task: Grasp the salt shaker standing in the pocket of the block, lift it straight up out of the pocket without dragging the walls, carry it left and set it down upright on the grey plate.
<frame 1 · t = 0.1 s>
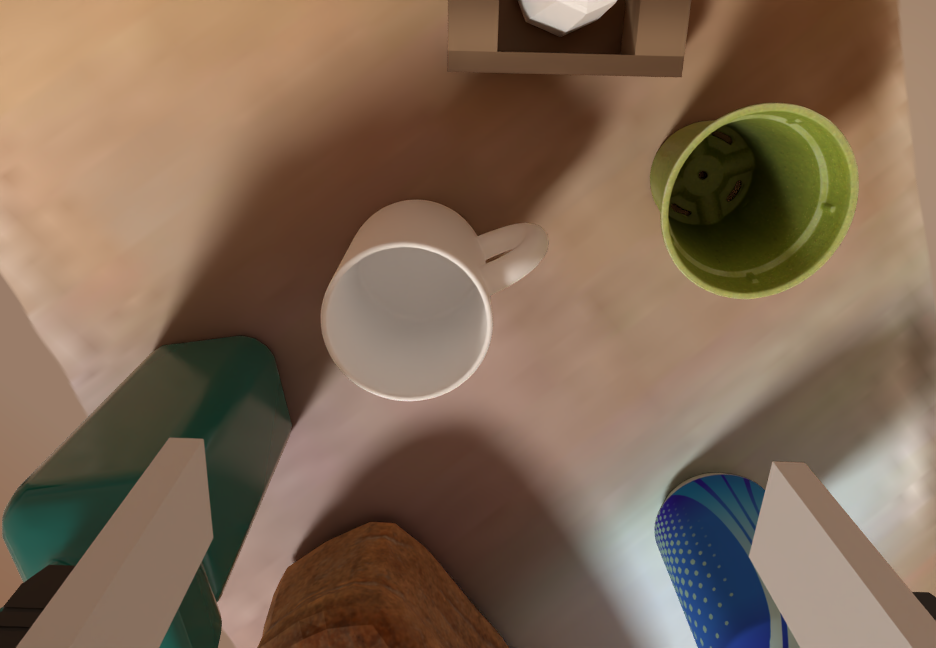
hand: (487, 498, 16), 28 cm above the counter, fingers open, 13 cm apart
beer can: (707, 511, 51), on the counter
mug: (446, 250, 43), on the counter
teal bottle: (232, 393, 47), on the counter
plant pot: (700, 173, 42), on the counter
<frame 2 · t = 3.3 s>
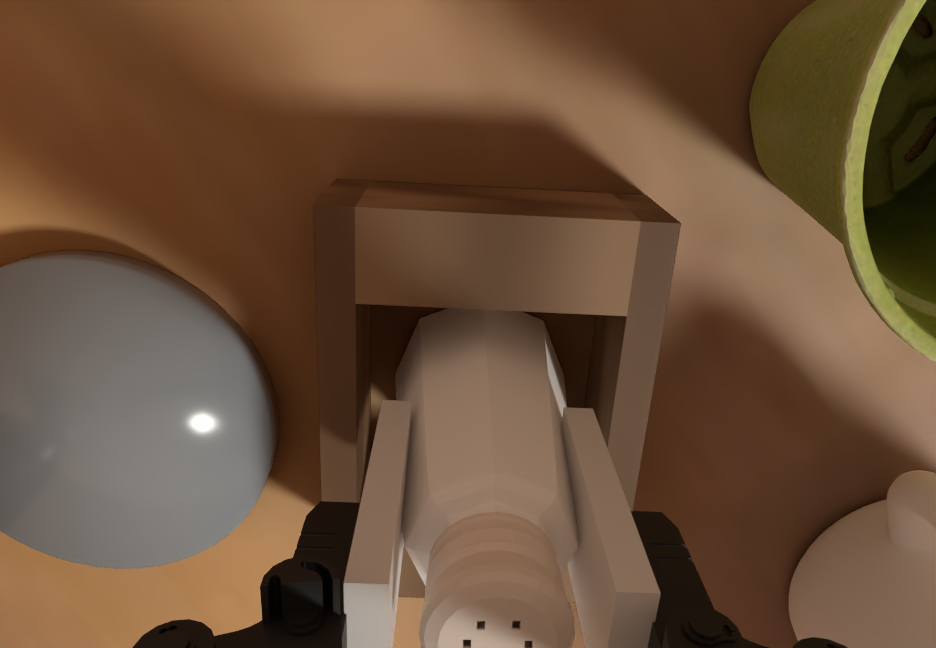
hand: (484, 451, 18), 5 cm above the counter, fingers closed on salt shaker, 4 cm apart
grey plate: (109, 412, 23), on the counter
mug: (882, 537, 26), on the counter
salt shaker: (479, 370, 23), resting in pocket block, touching gripper
pocket block: (479, 373, 23), on the counter
plant pot: (852, 97, 20), on the counter
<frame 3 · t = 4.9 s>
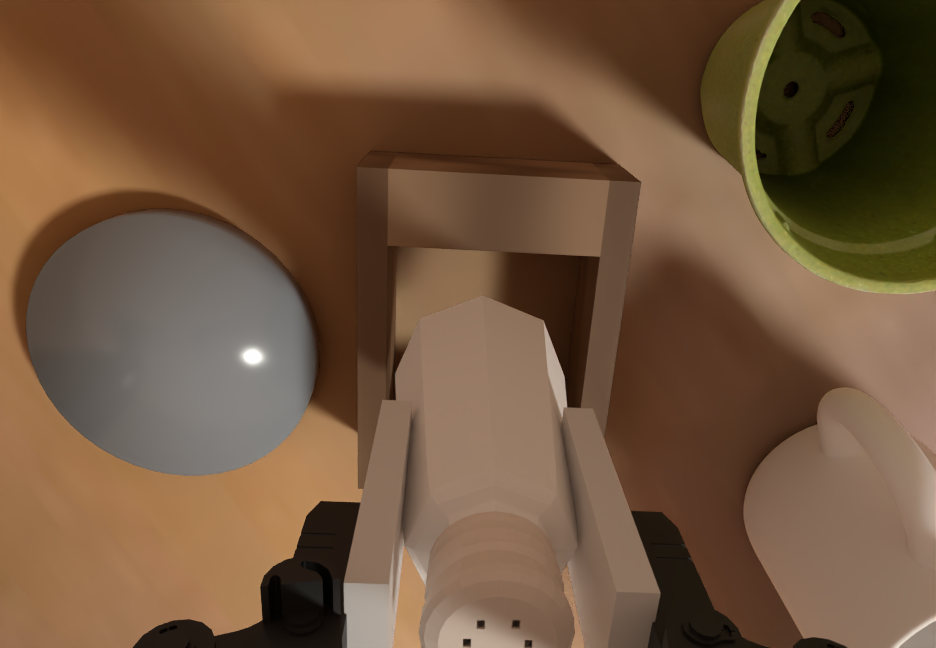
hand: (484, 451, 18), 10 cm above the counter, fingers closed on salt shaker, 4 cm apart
grey plate: (181, 344, 28), on the counter
mug: (822, 457, 30), on the counter
salt shaker: (479, 370, 23), point 5 cm above the counter, touching gripper
pocket block: (484, 312, 28), on the counter
plant pot: (784, 85, 25), on the counter
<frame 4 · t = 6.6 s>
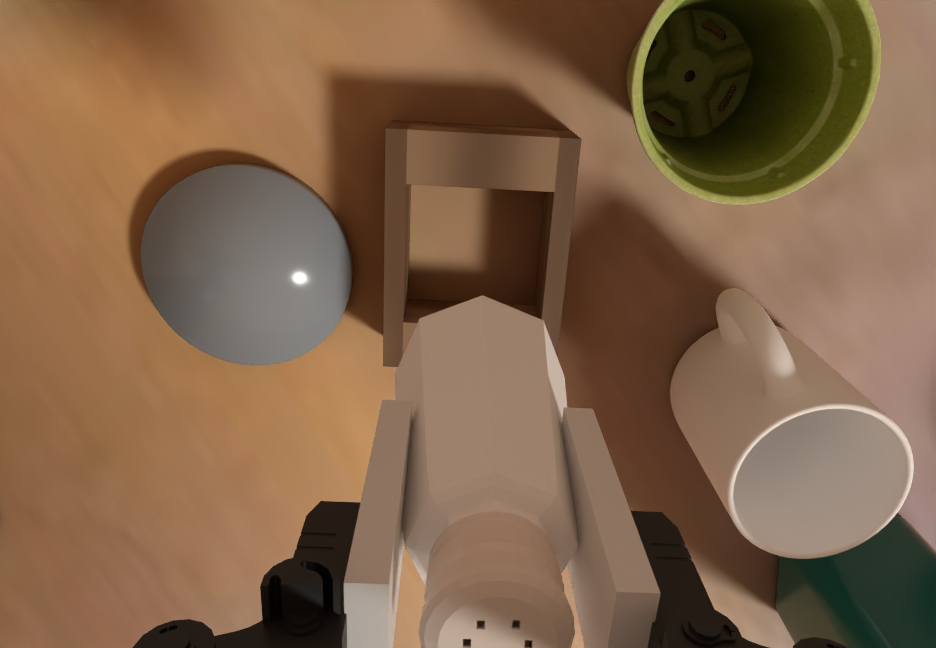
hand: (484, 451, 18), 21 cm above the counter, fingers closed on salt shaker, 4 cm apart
grey plate: (251, 265, 38), on the counter
mug: (728, 353, 41), on the counter
salt shaker: (479, 370, 23), point 16 cm above the counter, touching gripper
teal bottle: (839, 556, 46), on the counter
pocket block: (474, 240, 38), on the counter
plant pot: (686, 73, 35), on the counter
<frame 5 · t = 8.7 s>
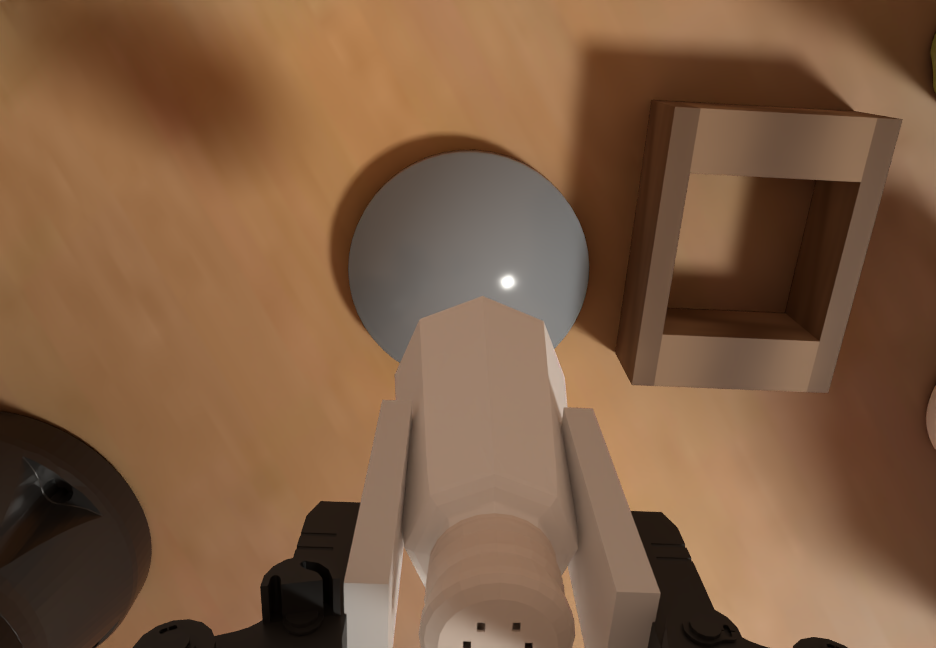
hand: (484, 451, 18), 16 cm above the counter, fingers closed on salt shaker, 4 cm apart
grey plate: (468, 268, 33), on the counter
salt shaker: (479, 371, 23), point 11 cm above the counter, touching gripper
pocket block: (727, 239, 33), on the counter
when the fingers open (7 cm above the counter, at t = 10.2 s): salt shaker drops 1 cm, resting on grey plate.
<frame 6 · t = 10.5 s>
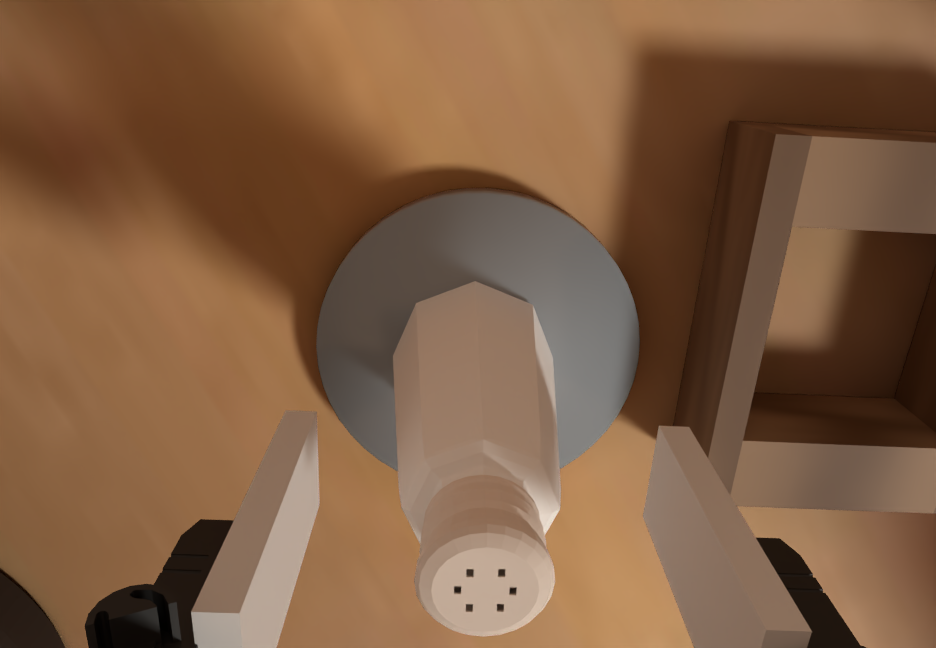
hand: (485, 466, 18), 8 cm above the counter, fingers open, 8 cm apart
grey plate: (477, 342, 25), on the counter
salt shaker: (472, 352, 24), point 1 cm above the counter, touching grey plate
pocket block: (823, 305, 25), on the counter
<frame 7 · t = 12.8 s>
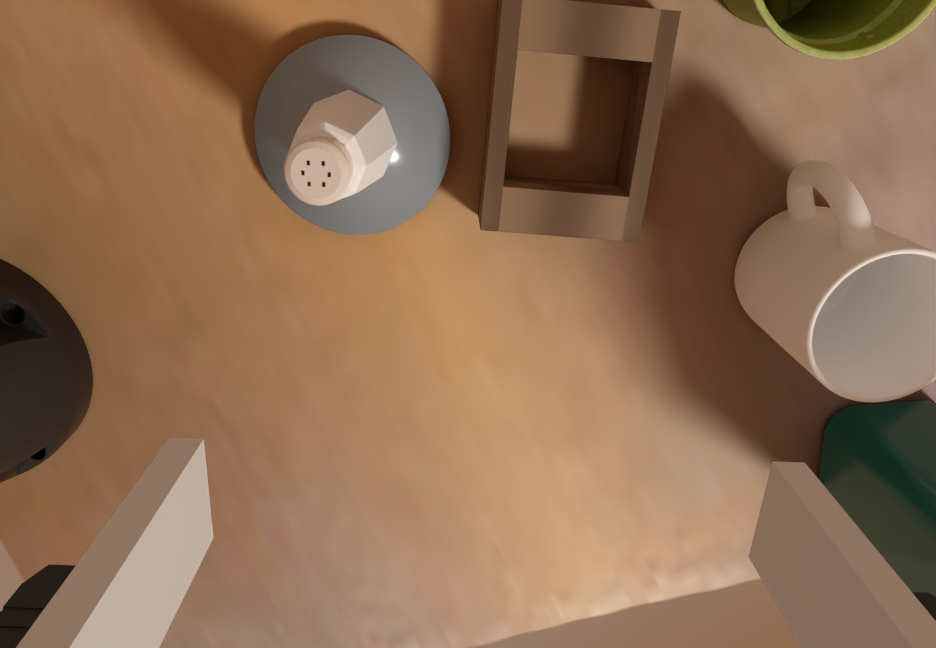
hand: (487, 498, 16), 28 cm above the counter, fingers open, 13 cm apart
grey plate: (355, 137, 41), on the counter
mug: (789, 239, 44), on the counter
salt shaker: (350, 139, 40), point 1 cm above the counter, touching grey plate
teal bottle: (876, 442, 50), on the counter
pocket block: (565, 119, 41), on the counter
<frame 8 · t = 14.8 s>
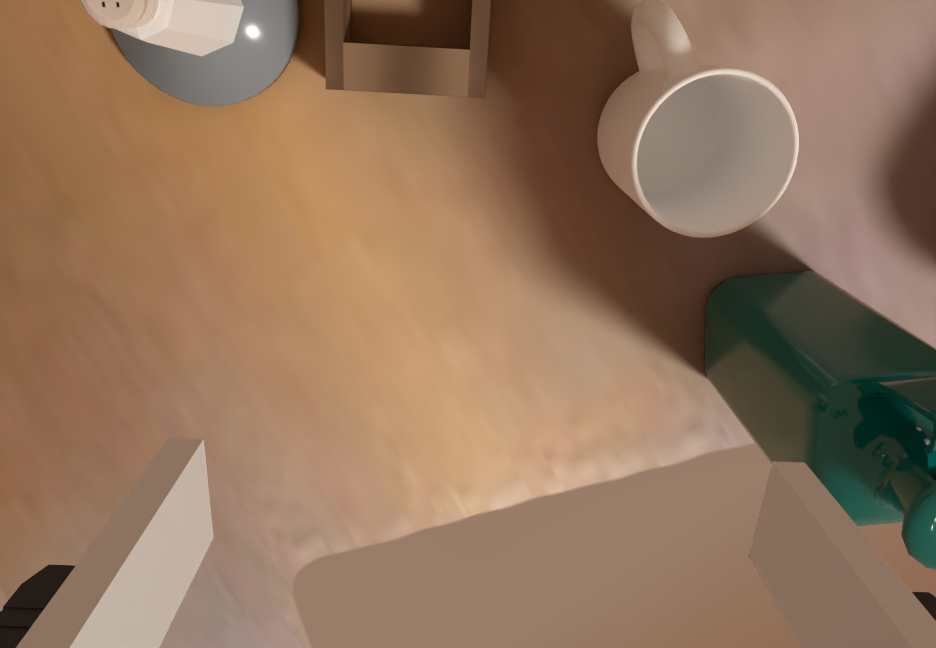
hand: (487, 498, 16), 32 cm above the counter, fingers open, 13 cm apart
grey plate: (206, 6, 41), on the counter
mug: (651, 102, 44), on the counter
salt shaker: (198, 5, 41), point 1 cm above the counter, touching grey plate
teal bottle: (762, 319, 49), on the counter
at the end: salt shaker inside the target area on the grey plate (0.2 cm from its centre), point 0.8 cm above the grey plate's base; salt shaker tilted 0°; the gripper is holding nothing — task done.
